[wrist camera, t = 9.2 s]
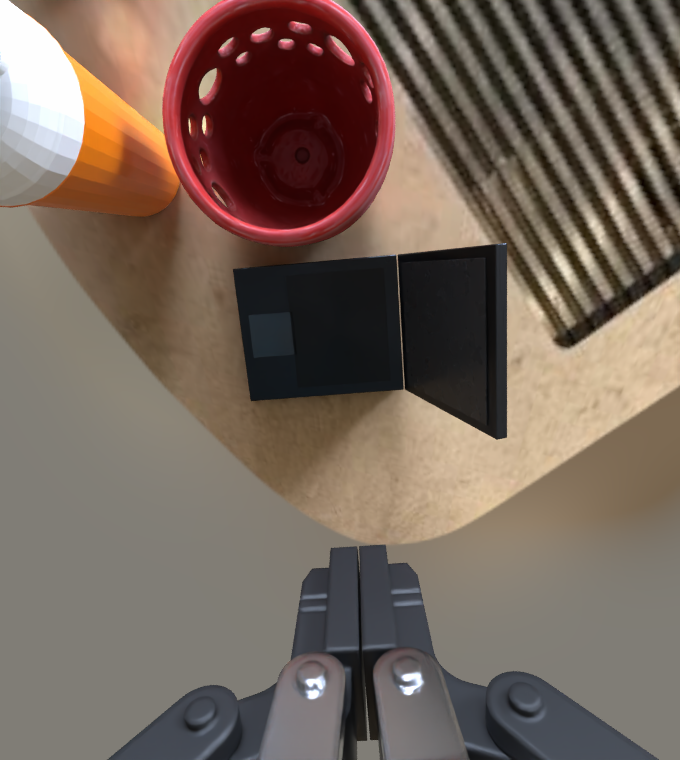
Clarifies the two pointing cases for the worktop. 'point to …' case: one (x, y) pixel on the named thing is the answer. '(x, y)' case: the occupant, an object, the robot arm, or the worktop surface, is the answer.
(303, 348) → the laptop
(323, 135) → the flower pot
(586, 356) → the worktop surface
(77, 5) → the worktop surface
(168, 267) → the worktop surface
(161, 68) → the worktop surface
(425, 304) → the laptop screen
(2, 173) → the shaker bottle
